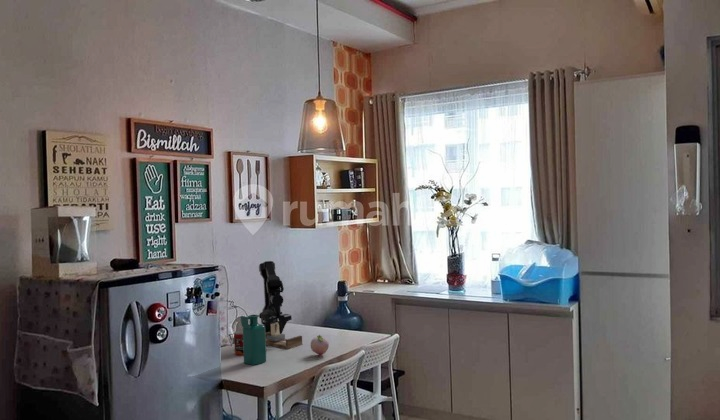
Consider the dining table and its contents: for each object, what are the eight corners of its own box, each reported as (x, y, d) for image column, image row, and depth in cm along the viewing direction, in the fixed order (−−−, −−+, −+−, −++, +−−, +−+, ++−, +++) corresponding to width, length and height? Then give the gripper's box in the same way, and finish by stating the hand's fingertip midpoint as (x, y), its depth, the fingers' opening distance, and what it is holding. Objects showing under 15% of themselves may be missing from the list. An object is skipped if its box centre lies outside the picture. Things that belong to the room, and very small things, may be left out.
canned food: (231, 354, 289) (230, 332, 288) (242, 350, 296) (241, 328, 296) (244, 356, 285) (243, 333, 285) (254, 352, 292) (253, 330, 292)
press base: (258, 343, 310) (258, 334, 310) (272, 339, 318) (272, 331, 318) (288, 349, 296) (288, 340, 296) (302, 344, 304) (301, 335, 304)
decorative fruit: (308, 354, 285) (307, 333, 285) (324, 352, 288) (324, 331, 288) (314, 359, 276) (313, 337, 276) (330, 356, 279) (330, 335, 279)
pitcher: (256, 358, 280) (254, 312, 280) (268, 361, 275) (266, 314, 274) (239, 363, 273) (238, 315, 272) (251, 366, 267) (250, 317, 267)
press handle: (267, 340, 308) (266, 324, 308) (277, 337, 314) (276, 321, 313) (275, 341, 304) (274, 325, 304) (285, 338, 310) (284, 322, 310)
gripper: (250, 303, 308) (251, 333, 308) (275, 307, 297) (276, 338, 297) (266, 300, 317) (267, 329, 317) (291, 303, 305) (292, 333, 306)
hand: (275, 332), depth 309 cm, fingers open, 7 cm apart
